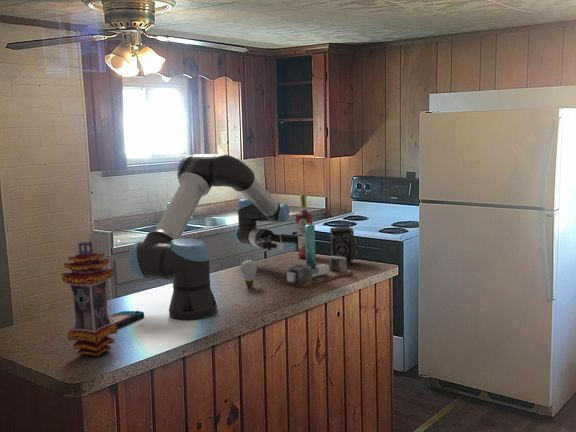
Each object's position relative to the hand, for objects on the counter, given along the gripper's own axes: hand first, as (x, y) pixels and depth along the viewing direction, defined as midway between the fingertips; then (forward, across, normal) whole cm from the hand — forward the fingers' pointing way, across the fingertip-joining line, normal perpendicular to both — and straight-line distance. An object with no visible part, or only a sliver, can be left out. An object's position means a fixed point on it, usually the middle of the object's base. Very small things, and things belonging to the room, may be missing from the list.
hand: (296, 244), depth 241 cm
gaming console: (+3, +79, -14) cm, 80 cm away
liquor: (-25, -26, -13) cm, 38 cm away
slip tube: (+8, +2, -11) cm, 14 cm away
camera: (-3, -28, -13) cm, 31 cm away
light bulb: (-2, +22, -13) cm, 26 cm away
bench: (+8, -4, -13) cm, 16 cm away
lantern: (+23, +92, -13) cm, 96 cm away
